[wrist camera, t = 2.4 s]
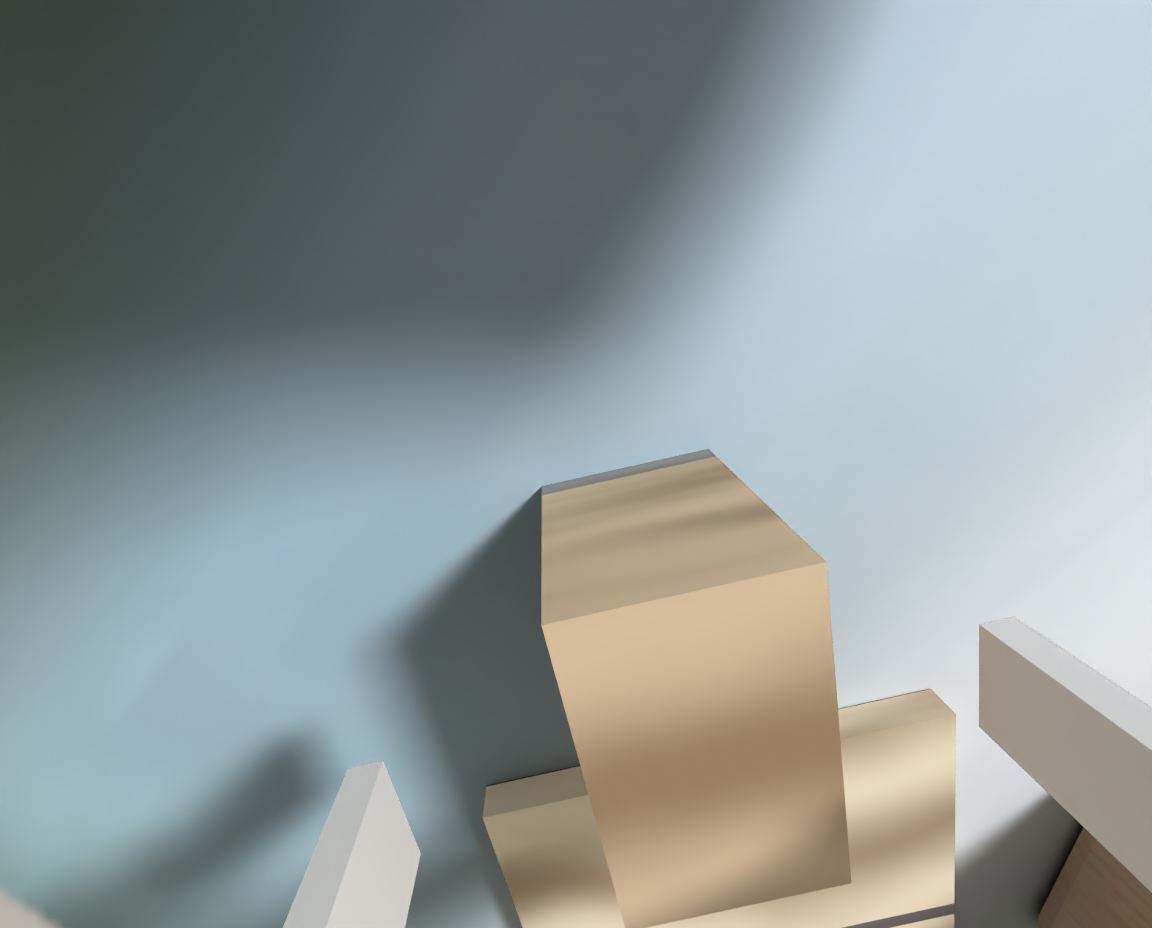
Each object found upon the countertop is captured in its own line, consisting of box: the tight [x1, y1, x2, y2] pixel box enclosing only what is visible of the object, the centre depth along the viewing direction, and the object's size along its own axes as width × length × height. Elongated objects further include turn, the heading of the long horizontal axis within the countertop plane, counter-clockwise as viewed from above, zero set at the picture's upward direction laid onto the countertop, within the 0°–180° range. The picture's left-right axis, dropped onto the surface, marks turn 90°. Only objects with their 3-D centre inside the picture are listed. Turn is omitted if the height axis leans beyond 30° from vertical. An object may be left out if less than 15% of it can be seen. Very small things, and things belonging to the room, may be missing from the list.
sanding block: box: [541, 449, 852, 928], centre depth 14 cm, size 8×5×7 cm, turn 12°
